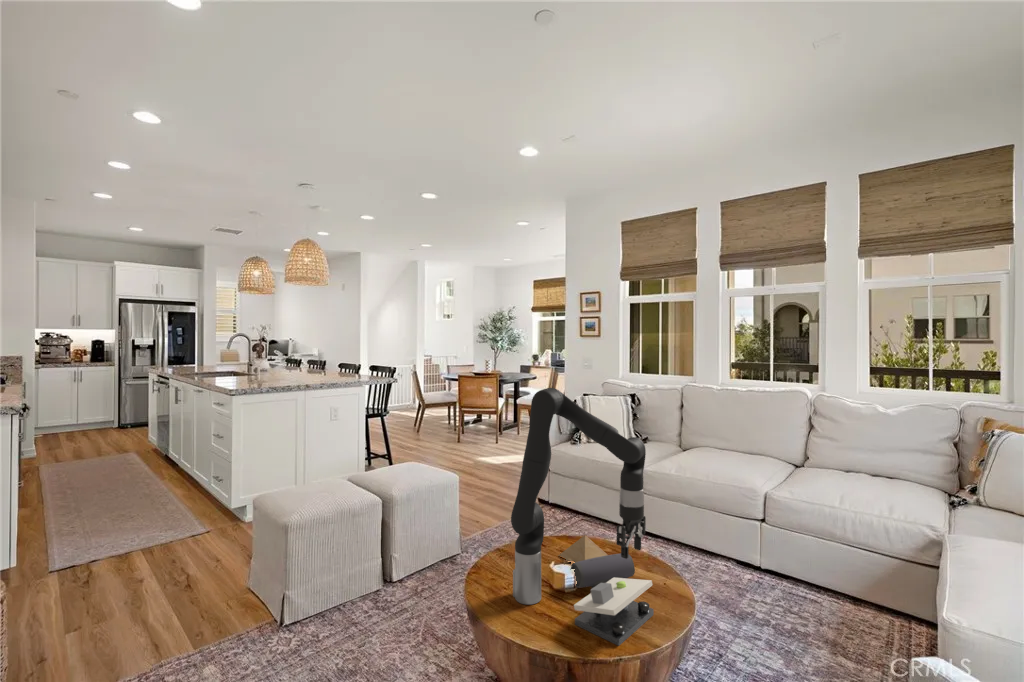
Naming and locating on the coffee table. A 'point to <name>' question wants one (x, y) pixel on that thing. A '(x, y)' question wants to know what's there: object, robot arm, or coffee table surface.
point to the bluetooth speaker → (602, 570)
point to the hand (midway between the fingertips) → (631, 553)
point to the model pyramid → (582, 550)
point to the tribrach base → (608, 620)
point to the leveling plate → (618, 597)
